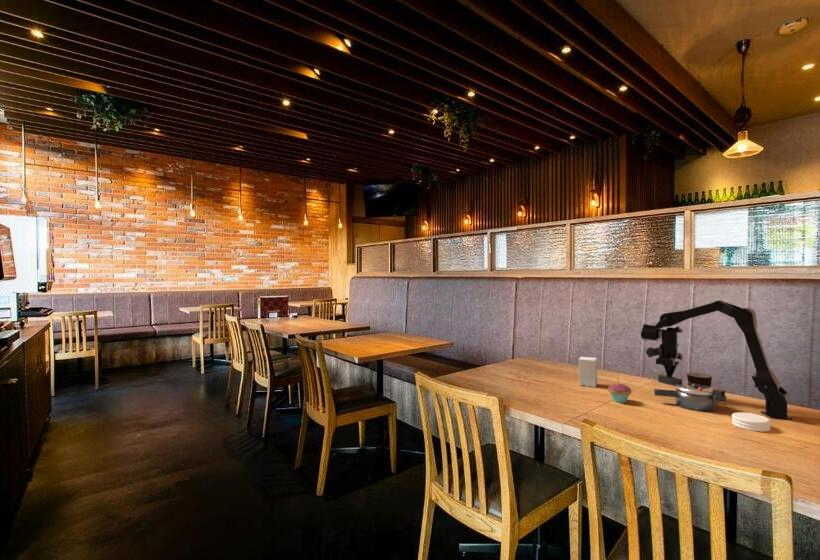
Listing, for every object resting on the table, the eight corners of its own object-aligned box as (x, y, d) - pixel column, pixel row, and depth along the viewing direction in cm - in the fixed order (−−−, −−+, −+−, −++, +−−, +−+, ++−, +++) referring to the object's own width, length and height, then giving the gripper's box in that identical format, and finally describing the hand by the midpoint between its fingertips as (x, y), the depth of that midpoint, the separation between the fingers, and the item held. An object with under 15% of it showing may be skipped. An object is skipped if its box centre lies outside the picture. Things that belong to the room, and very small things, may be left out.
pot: (719, 404, 161) (719, 389, 161) (731, 414, 149) (731, 398, 149) (651, 397, 169) (651, 383, 169) (657, 407, 157) (657, 392, 157)
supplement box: (597, 384, 192) (597, 357, 192) (595, 387, 186) (595, 360, 186) (581, 382, 196) (581, 356, 196) (578, 385, 190) (578, 358, 189)
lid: (734, 394, 152) (734, 386, 152) (711, 399, 146) (711, 391, 146) (670, 379, 174) (670, 373, 174) (649, 383, 169) (649, 376, 169)
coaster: (756, 434, 131) (756, 423, 131) (724, 423, 140) (724, 413, 140) (777, 430, 134) (777, 420, 134) (745, 420, 143) (745, 410, 143)
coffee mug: (712, 403, 162) (712, 378, 162) (686, 399, 167) (686, 375, 167) (712, 396, 171) (712, 372, 171) (687, 393, 176) (687, 370, 176)
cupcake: (625, 405, 160) (625, 375, 160) (604, 400, 166) (604, 371, 166) (634, 401, 165) (634, 372, 165) (613, 396, 172) (613, 368, 172)
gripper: (653, 337, 184) (654, 371, 184) (641, 342, 171) (642, 379, 171) (682, 340, 176) (682, 375, 176) (672, 345, 163) (672, 384, 163)
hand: (669, 378), depth 172 cm, fingers closed
